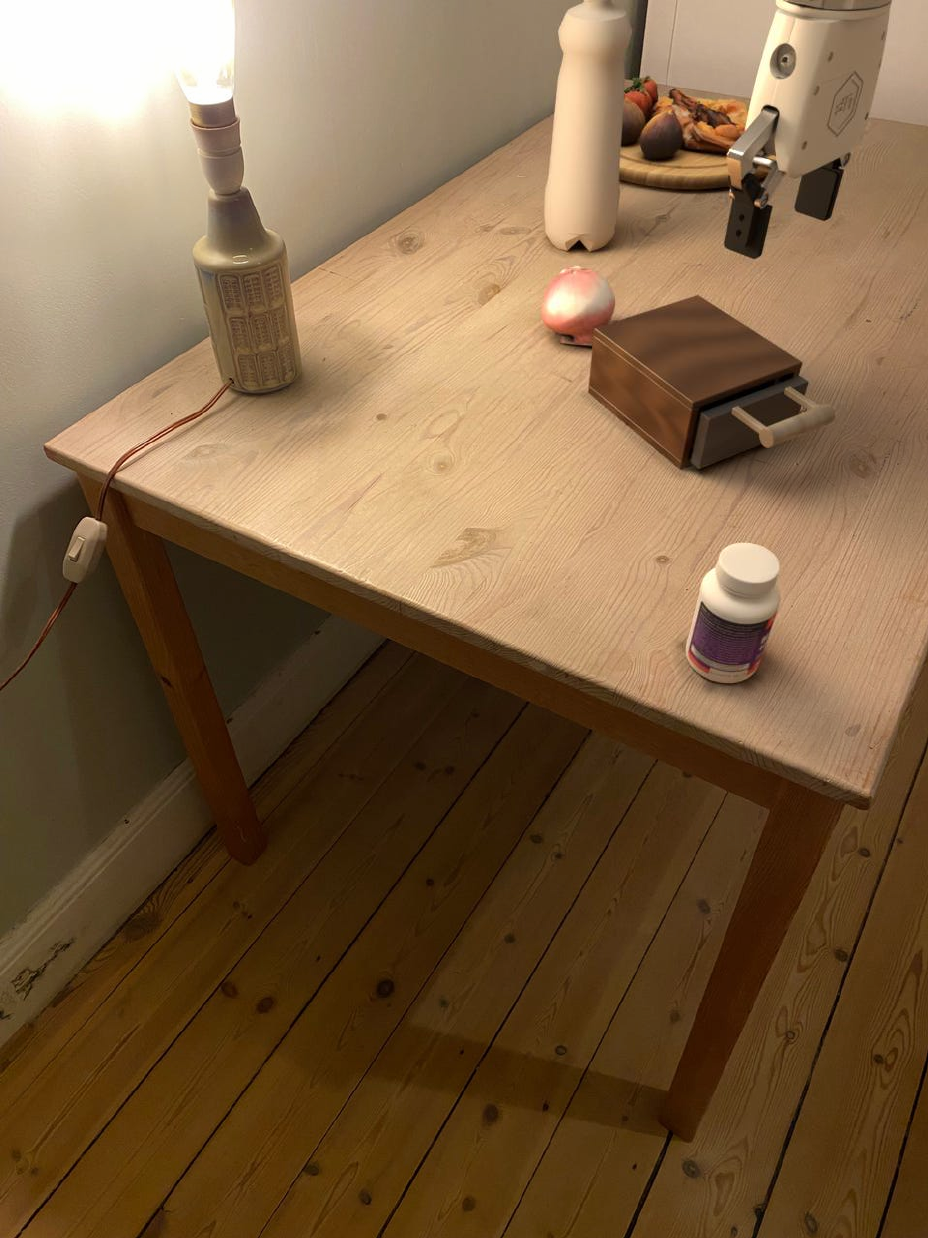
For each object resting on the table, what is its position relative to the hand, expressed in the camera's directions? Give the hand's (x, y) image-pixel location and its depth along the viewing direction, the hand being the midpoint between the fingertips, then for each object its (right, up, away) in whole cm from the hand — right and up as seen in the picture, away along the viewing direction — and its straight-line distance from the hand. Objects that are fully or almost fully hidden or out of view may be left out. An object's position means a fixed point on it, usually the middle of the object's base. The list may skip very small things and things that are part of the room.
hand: (777, 233), depth 74 cm
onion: (-13, 0, +26) cm, 29 cm away
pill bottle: (-6, -34, -6) cm, 35 cm away
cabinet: (-4, -11, +16) cm, 20 cm away
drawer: (-1, -13, +12) cm, 18 cm away
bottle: (-11, +17, +42) cm, 46 cm away
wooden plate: (+6, +38, +62) cm, 73 cm away
